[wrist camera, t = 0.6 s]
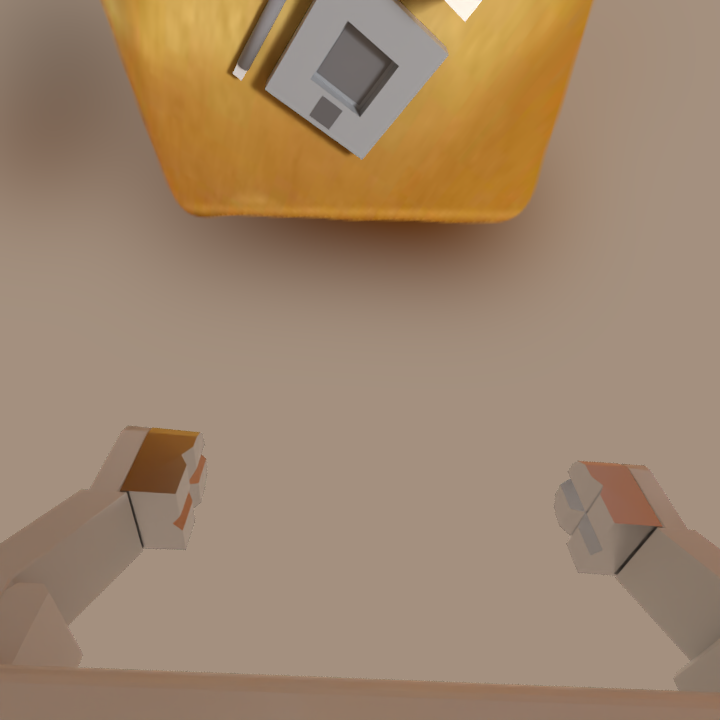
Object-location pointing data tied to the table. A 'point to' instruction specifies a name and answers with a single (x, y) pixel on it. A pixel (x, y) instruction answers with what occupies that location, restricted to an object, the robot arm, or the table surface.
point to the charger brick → (463, 7)
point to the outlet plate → (355, 68)
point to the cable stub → (258, 37)
